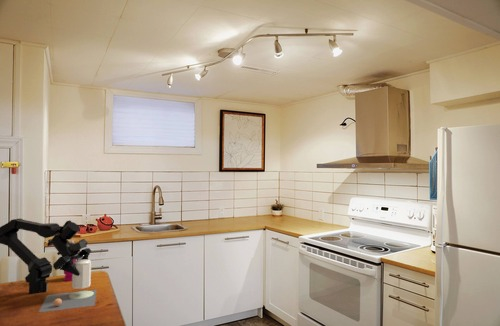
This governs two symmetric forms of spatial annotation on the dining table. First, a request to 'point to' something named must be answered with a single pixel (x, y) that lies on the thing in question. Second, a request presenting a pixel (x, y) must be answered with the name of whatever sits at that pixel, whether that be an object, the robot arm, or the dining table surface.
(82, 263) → the salt shaker
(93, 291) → the board
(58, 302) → the ball
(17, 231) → the robot arm
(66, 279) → the pepper mill
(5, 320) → the dining table surface
